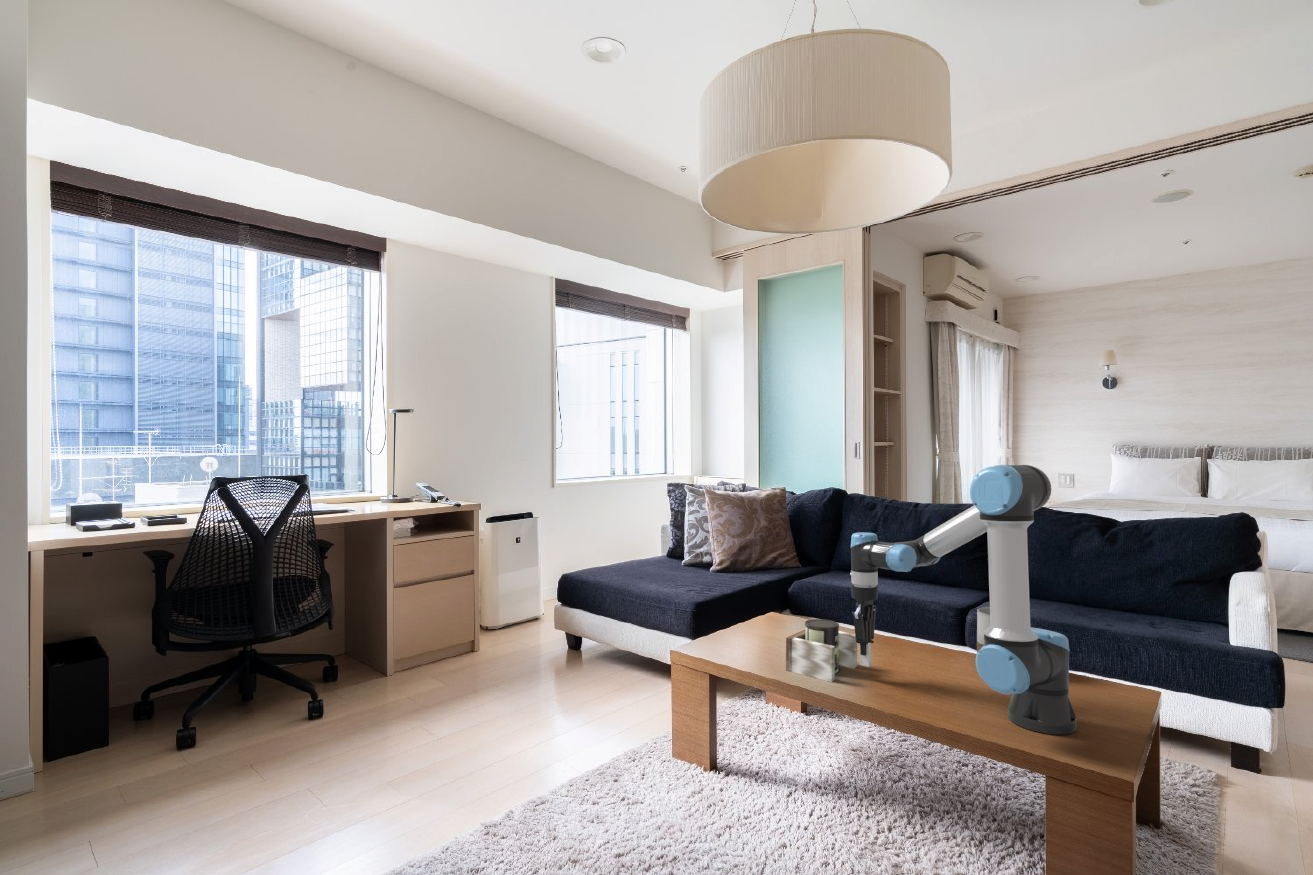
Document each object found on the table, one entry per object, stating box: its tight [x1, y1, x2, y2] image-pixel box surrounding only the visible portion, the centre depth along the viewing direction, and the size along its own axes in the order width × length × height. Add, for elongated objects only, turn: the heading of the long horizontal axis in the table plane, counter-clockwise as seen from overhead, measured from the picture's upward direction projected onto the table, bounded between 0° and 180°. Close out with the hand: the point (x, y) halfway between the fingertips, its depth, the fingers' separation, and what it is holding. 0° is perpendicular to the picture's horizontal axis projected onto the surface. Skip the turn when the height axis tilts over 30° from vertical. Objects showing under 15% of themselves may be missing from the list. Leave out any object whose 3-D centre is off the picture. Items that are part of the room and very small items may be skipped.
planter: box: [976, 606, 991, 654], centre depth 209 cm, size 13×13×18 cm
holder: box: [785, 629, 858, 683], centre depth 207 cm, size 15×18×10 cm
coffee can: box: [804, 618, 840, 674], centre depth 207 cm, size 10×10×14 cm
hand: (865, 665), depth 198 cm, fingers closed
